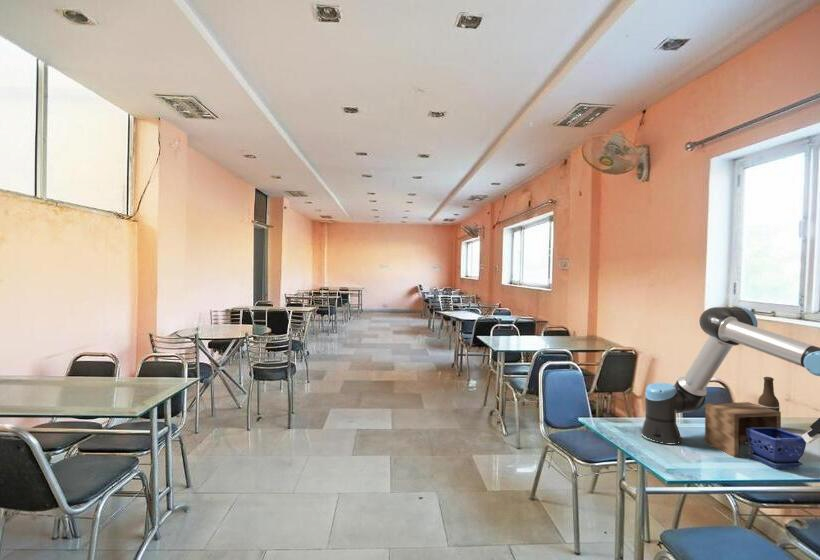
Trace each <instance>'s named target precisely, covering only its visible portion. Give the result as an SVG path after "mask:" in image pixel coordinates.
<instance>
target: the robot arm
mask: <svg viewBox="0 0 820 560" xmlns="http://www.w3.org/2000/svg"><path fill="white" fill-rule="evenodd" d="M758 324H759V323H758V320H757V317H756V315H755V313H754V312H753V311H752V310H750V309H748V308H746V307H742V306H737V305H736V306H725V307H724V306H719V307H718V306H716V307H710V308H707V309H706V310H705V311H703V312H702V314H700V317H699V325H700V328H701V330H702V331H703V332H704V333H705V334H706V335H708V337H707V339H706V341H705V343H704V344H703V345H702V347H701V349H700V351H698V354H697V355H696V357H695V359H694V360H693V361H692V363H691V365H690V367H689V369H688V370H687V372H686V373H685V375H684V376H680V377H679V378H678V379H677V380H676V381H675V384H673V383H666V382H655V383H654V382H653V383H650V384H648V385H647V386H646V387H645V393H644V396H645V398H644V399H645V404H644V405H645V417H644V418H645V420H644V422H643V425H642V427H641V429H640V434H641V433H642V434H643V435H644V436H646V437H647V438H650V439H652V440H655V441H658V442H663V443H678V442H680V443H681V442H682V437H681V436H682V435H681V433H680V430H679V427H678V424H677V414H682V413H683V414H684V413H694V412H698V411H700V410H702V409H705V404H708V403H707V402H708V398H707V394H708V391H707V386H708V384H709V383H710V382H711V380H712V379H713V378H714V375H715V374H716V372H717V371H718V369H719V368H720V366H721V364H722V363H723V362H724V360H725V359H726V357H727V356H728V354H729V353H730V352H731V349H732V348H733V347H736V346H739V345H742V346H744V347H745V346H746V347H748V348H751V349H753V350H755V351H757V352H760V353H761V352H762V353H764V354H767V355H769V356H772V357H775V358H777V359H780V360H784V361H785V362H788V363H792V364H795V365H796V366H800V367H802V368H805V369H806V370H807V372H808V373H810V374H811V375H813V376H815V377H816V376H817V377H820V347H819V346H815V345H813V344H810V343H806V342H804V341H801V340H797V339H794V338H791V337H788V336H785V335H783V334H780V333H775V332H772V331H769V330H766V329H764V328H760V327H758V326H759V325H758ZM809 427H810V429H809V430H808V431H806V432H805V433H803V434H802V435H801V436H802V438H803V439H804V440H805V441H806V444H811V443H812V442H815V441H817V439H819V438H820V417H819V418H817V420H815V421H814V422H813V423H812V424H811V425H810V426H809Z"/></svg>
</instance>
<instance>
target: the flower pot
mask: <svg viewBox="0 0 820 560" xmlns="http://www.w3.org/2000/svg"><path fill="white" fill-rule="evenodd" d="M746 435H747V440H748V443H747V444H748V445H749V447H750V449H751V451H752V452H751V451H750V452H748V454H749V456H750V457H751V458H753V459H754V460H756V461H758V462H761V463H762V464H764V465H766V466H769V467H771V468H774V469H792V468H793V469H797V468H800V467H802V466H803V462H802V461H800V460H801V458H802V457H803V455H804V453H805V451H806V445H807V443H806V441H805V440H804V439H803V438H802V435H798V434H797V433H793V432H790V431H788V430H784V429H782V428H781V429H778V428H775V427H752V428H746ZM777 436H778V437H779V439H777ZM759 440H760V442H759Z"/></svg>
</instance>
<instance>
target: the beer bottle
mask: <svg viewBox="0 0 820 560" xmlns="http://www.w3.org/2000/svg"><path fill="white" fill-rule="evenodd" d="M774 389H775V388H774V378H773V377H772V376H771V377H770V376H764V377H763V389H762V390H763V392H762V394H761V395H760V396H759V398H758V401H757V405H759V406H763V407H766V408H769V409H772V410H775V411H779V412H780V402H779V400H778V398H777V396H776V395H775V390H774Z"/></svg>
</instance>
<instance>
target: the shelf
mask: <svg viewBox="0 0 820 560" xmlns="http://www.w3.org/2000/svg"><path fill="white" fill-rule="evenodd" d="M781 416H782V413H781V411H780V410H779V411H775V410H772V409H769V408H766V407H763V406H759V405H758V404H757V403H753V402H750V401H744V402H721V403H719V402H718V403H717V402H716V403H715V402H714V403H706V404H705V406H704V419H705V420H704V421H705V422H704V426H705V427H704V442H705V443H704V444H705V445H706V446H710V447H711V446H712V448H714V449H716V450H718V451H720V452H722V451H723V452H722V453H724V452H725V453H724V454H726V453H727V455H729V456H731V457H733V458H739V448H740V447H739V446H747V444H749V443H748V440H747V435H746V428H752V427H775V428H778V429H782V423H781V422H782V419H781ZM777 439H779V437H778V436H777ZM759 442H760V440H759Z"/></svg>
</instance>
